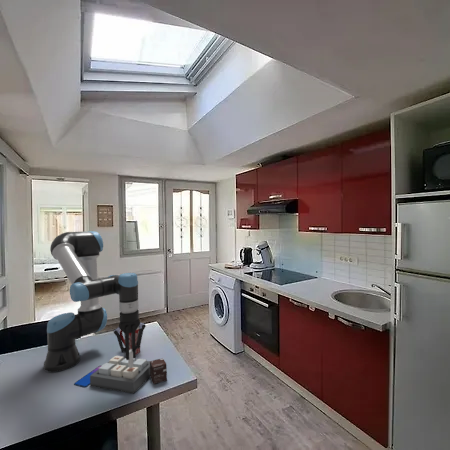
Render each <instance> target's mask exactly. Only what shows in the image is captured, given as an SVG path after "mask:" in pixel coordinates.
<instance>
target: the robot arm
mask: <svg viewBox="0 0 450 450" xmlns="http://www.w3.org/2000/svg"><path fill="white" fill-rule="evenodd" d="M103 250H104V241H103V238H102V236H101V234H100V232H98V231H93V230H92V231H91V230H90V231H89V230H88V231H85V230H84V231H68V232H63V233H60V234H59V235H57V236H56V237H54V239H53V240H52V242H51V244H50V254H51V256H52V258H53V259H54V260H55V261H56V260H57V261H58V263H59V265H60V266H61V268H62V270H63V271H64V273H65V275H66V278H67V279H68V280H69V282H70V284H71V285H70V287H69V295H70V296H69V297H70V299H71V301H72V302H75V303H76V302H78V303H79V302H80V307H79V308H78V309H77V313H76V314H75V313H74V312H64V313H61V314H58V315H55V316H53V317H52V318H50V319H49V320H48V322H47V324H46V334H47V336H46V337H47V340H46V341H47V353H46V357H45V360H44V362H43V370H44V371H45V372H49V373H54V372H55V373H56V372H62V371H65V370H68V369H71V368H72V367H74V366H76V365H77V364H79V362H80V361H81V355H80V352H79V350H78V348H77V345H76V340H77V339H79V338H82V337H86V336H89V335H91V334H96V333H98V332H101V331H103V330H104V329H105V328H106V325H107V322H108V313H107V310H106V308H104V307H103V304H100V300H99V299H100V298H101V297H106V296H111V295H115V294H116V295H118V301H119V302H118V303H119V305H118V306H119V324H118V326H117V328H114V329H113V334H114V335H115V337H116V338H117V342H118V345H119V348H120V352H121V353H124V354H125V358H126V360H128V364H129V368H133V358H135V359H136V357H137V356H136V355H137V354H136V349H138V348H140V349H141V344H142V339H143V334H144V330H145V329H146V324H145V322H141V321H140V314H139V313H140V312H139V279H138V274H136V273H135V272H125V273H122V274H121V273H120V274H119V275H118V274H111V275H109V276H107V277H103V278H99V277H98V263H97V262H98V261H97V260H98V258H99V256H100V253H101V252H103ZM138 326H139V333H138V337H137V342H136V344H135V331H136V330H137V328H138ZM120 330H122V333H125V336H124V339H125V345H124V344H123V342H122V340H121V337H120ZM129 333H131V344H132V349H131V350H129Z"/></svg>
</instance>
